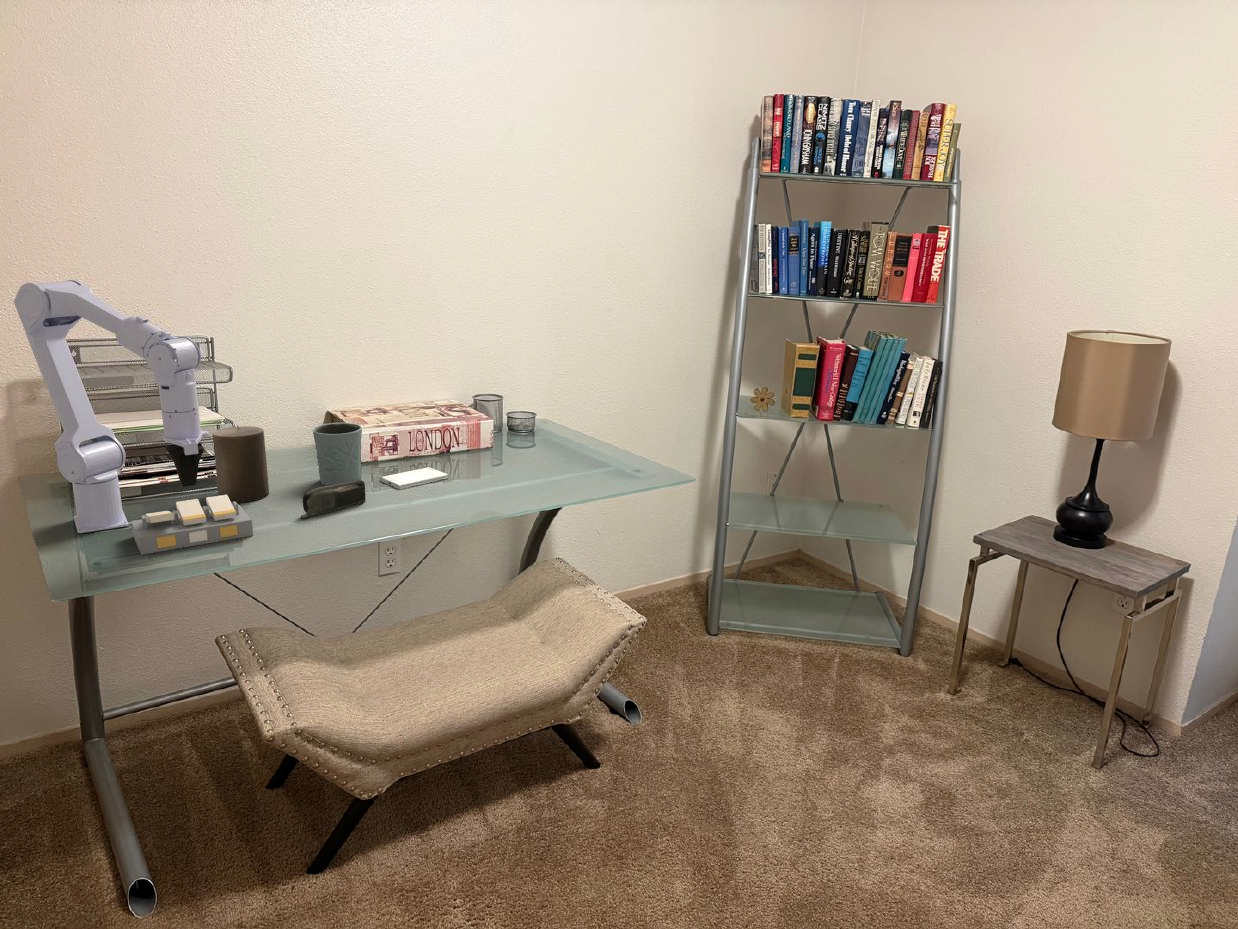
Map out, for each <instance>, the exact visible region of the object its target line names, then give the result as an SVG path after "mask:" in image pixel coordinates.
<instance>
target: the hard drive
mask: <svg viewBox="0 0 1238 929" xmlns="http://www.w3.org/2000/svg"><path fill="white" fill-rule="evenodd" d="M447 478H448V479H449V475H448V473H446V472H443V471H439V470H438V469H435V468H432V467H428V466H427V467H425V468H419V469H414V470H409V471H404V472H400V473H399V472H398V473H395V474H388V475H385V476H380V477H379V482H381V483H384V484H385V485H388V486H390V485H391V487H392V486H393V488H395V489H397V490H404V489H408V487H409V488H413V487H412V486H414V487H416V486H415V485H418V486H421V485H427V484H431V483H430V482H432V483H434V482H433V481H436V480H440V479H445V480H448V479H447ZM436 482H437V481H436Z"/></svg>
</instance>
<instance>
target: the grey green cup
mask: <svg viewBox="0 0 1238 929" xmlns="http://www.w3.org/2000/svg"><path fill="white" fill-rule="evenodd" d="M362 433H363V427H362V426H361V425H360V424H357V423H353V422H330V423H323V424H319V425H317V426H315V427H313V429H312V434H313V439H314V444H315V450H316V459H317V465H318V476H319V481H320V484H321V485H324V486H330V485H335V484H340V483H346V482H351V481H356V480H361V481H362V465H361V462H362V438H363V437H362V435H363V434H362Z"/></svg>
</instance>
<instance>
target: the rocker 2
mask: <svg viewBox="0 0 1238 929" xmlns="http://www.w3.org/2000/svg"><path fill="white" fill-rule="evenodd" d="M175 505H176V506H175V507H176V511H177V512H178V514H179V515H180V517H181V520H182V522H183V524H184V526H185V525H191V524H197V523H204V522H206V516H205V514H204V512H203V506H201V503H200V501H199V499H198V498H194V499H187V500H179V501H175Z"/></svg>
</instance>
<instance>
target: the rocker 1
mask: <svg viewBox="0 0 1238 929" xmlns="http://www.w3.org/2000/svg"><path fill="white" fill-rule="evenodd" d="M145 517H146V520H148V521H149V522H150V523H155V522H161V521H168V520H174V514H173V512H171V511H169V510H163V511H157V512H156V511H155V512H149V513H145Z"/></svg>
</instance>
